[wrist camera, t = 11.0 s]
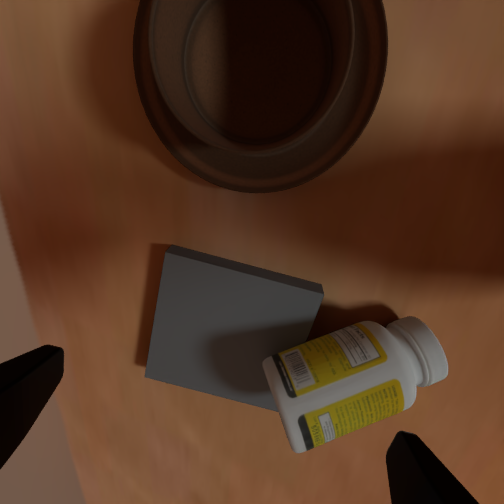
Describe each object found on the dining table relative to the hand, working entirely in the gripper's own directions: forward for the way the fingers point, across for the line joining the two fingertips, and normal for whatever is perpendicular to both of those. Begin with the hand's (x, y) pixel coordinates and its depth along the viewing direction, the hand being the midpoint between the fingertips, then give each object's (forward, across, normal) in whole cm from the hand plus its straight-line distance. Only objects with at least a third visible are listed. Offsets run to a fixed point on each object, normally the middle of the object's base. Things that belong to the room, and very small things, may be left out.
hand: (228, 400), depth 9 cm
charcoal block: (+14, 0, +7) cm, 15 cm away
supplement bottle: (+8, -3, +8) cm, 12 cm away
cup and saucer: (+13, +2, -9) cm, 16 cm away
